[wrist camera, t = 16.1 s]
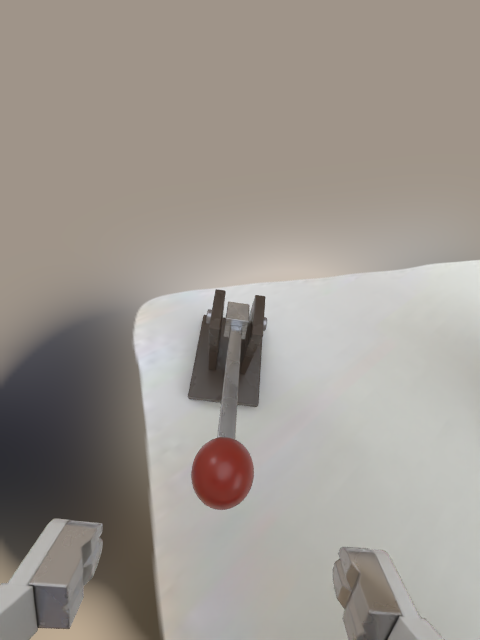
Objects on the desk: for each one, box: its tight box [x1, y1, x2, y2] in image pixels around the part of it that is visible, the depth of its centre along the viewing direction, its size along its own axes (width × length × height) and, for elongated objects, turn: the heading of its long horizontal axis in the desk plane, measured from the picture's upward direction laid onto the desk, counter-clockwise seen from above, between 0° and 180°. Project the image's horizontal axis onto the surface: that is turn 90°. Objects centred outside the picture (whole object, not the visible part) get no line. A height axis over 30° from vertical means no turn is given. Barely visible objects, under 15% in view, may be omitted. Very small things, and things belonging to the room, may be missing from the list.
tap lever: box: [191, 302, 254, 510], centre depth 20 cm, size 17×4×4 cm, turn 174°
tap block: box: [188, 290, 267, 407], centre depth 30 cm, size 12×9×14 cm
